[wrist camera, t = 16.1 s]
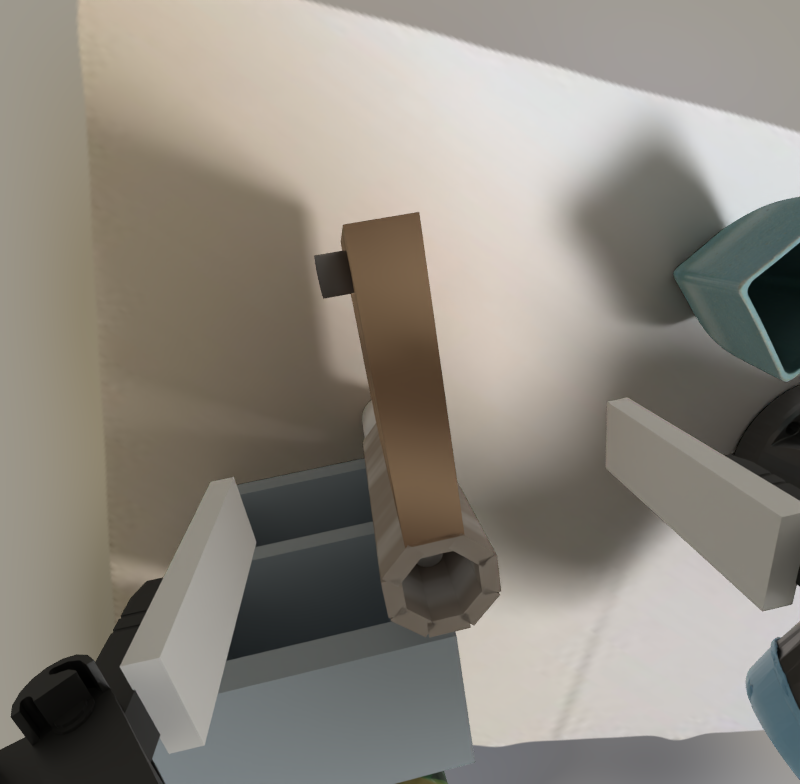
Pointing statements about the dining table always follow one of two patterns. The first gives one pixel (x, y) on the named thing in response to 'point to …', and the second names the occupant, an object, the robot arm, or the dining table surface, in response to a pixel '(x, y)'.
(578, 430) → the dining table surface
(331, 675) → the cabinet
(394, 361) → the brown panel with tube
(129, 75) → the dining table surface
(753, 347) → the flower pot
